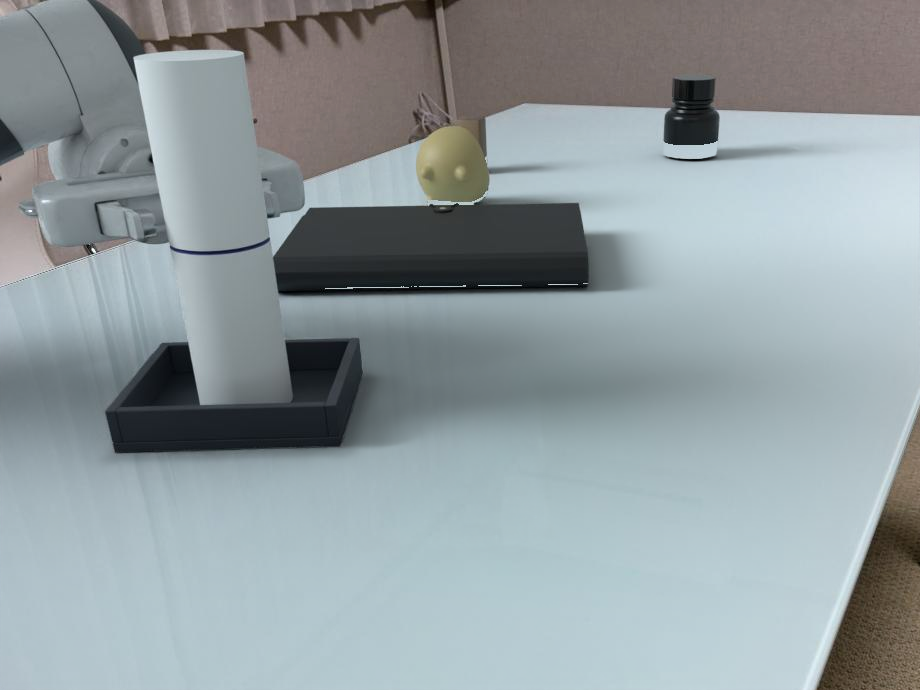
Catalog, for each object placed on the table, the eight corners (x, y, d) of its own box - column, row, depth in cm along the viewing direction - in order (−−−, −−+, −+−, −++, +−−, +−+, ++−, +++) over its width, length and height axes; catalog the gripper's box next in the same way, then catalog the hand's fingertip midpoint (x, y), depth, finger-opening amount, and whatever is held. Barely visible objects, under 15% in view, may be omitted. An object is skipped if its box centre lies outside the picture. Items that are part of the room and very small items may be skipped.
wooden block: (488, 169, 166) (486, 115, 162) (481, 174, 163) (478, 119, 159) (463, 168, 167) (461, 115, 163) (456, 174, 163) (453, 119, 159)
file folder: (578, 199, 128) (588, 254, 108) (578, 233, 130) (588, 294, 110) (309, 204, 128) (267, 260, 108) (313, 237, 130) (273, 299, 110)
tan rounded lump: (491, 235, 144) (505, 170, 147) (475, 180, 133) (490, 111, 136) (423, 230, 146) (438, 166, 149) (401, 175, 135) (418, 107, 138)
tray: (114, 452, 77) (104, 411, 75) (168, 379, 90) (161, 342, 88) (340, 446, 77) (335, 405, 76) (363, 374, 90) (359, 337, 88)
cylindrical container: (208, 425, 79) (139, 63, 66) (194, 392, 85) (128, 53, 72) (301, 408, 81) (252, 56, 69) (282, 378, 87) (233, 47, 74)
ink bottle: (729, 156, 173) (735, 77, 167) (697, 164, 167) (702, 82, 161) (682, 149, 179) (686, 72, 173) (649, 156, 173) (652, 78, 167)
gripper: (1, 161, 79) (51, 191, 69) (256, 131, 89) (330, 154, 80) (23, 245, 82) (73, 285, 72) (266, 207, 93) (339, 238, 83)
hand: (210, 216), depth 76 cm, fingers open, 8 cm apart
